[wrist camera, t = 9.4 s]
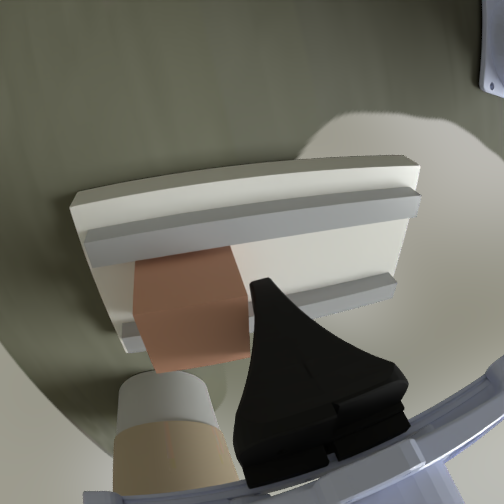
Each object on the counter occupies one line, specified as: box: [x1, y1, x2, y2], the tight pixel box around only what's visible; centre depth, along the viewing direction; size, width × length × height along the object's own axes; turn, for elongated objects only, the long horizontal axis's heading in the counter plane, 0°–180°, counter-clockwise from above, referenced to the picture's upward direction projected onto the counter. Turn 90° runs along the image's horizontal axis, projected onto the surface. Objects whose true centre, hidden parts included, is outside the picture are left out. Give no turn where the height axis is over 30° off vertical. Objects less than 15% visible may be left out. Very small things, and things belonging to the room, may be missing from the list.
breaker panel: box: [69, 155, 421, 353], centre depth 15 cm, size 16×9×2 cm, turn 92°
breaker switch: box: [133, 246, 250, 374], centre depth 13 cm, size 4×4×4 cm
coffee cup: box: [113, 370, 240, 496], centre depth 16 cm, size 9×9×15 cm
